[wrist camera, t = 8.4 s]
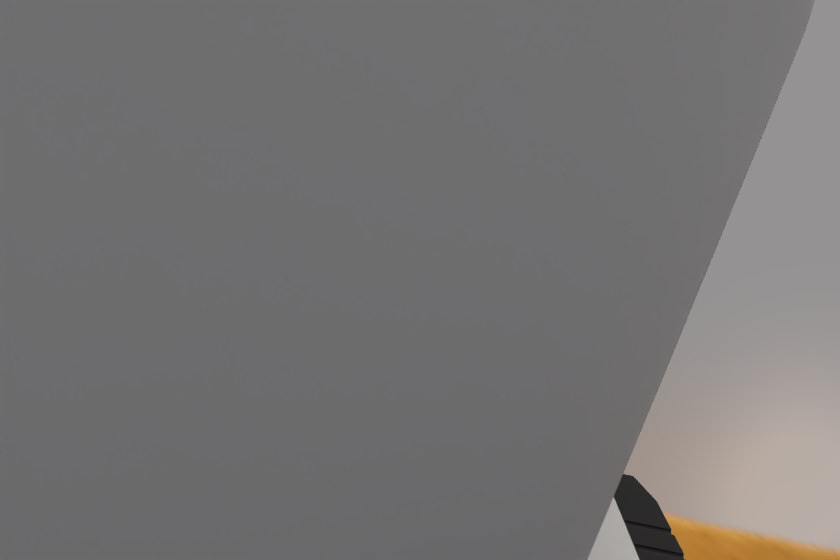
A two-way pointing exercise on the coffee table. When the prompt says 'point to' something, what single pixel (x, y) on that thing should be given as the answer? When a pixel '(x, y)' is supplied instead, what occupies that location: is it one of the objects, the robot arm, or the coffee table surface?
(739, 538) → the coffee table surface
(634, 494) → the robot arm
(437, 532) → the cup
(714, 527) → the coffee table surface
